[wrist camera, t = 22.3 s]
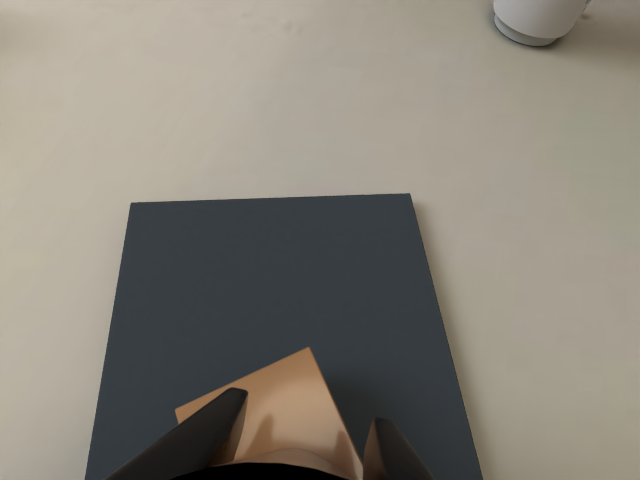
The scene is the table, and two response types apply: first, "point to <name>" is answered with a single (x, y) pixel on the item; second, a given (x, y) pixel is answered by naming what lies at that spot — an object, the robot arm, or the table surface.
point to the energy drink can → (537, 19)
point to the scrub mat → (280, 320)
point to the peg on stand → (285, 427)
